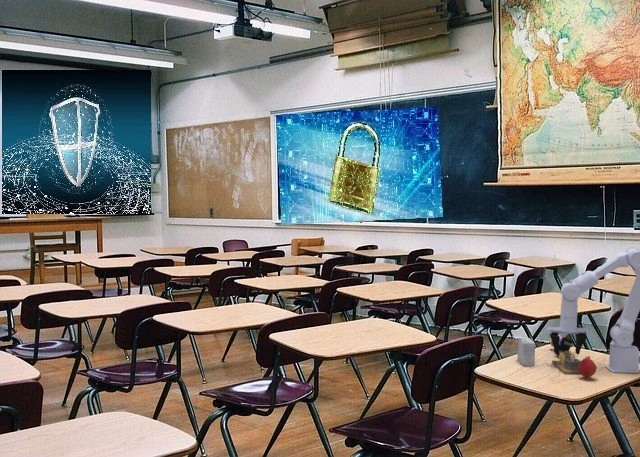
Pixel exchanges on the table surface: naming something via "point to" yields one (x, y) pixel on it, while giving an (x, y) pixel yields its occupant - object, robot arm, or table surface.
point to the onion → (587, 367)
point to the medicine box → (526, 352)
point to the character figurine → (563, 344)
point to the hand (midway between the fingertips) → (566, 353)
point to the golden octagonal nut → (564, 357)
